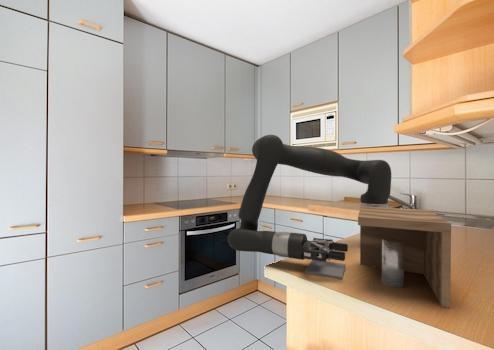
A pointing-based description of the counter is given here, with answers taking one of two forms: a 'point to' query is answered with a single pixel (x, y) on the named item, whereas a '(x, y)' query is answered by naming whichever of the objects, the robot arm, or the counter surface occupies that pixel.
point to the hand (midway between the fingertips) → (346, 252)
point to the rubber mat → (326, 269)
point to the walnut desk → (410, 243)
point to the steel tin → (393, 262)
